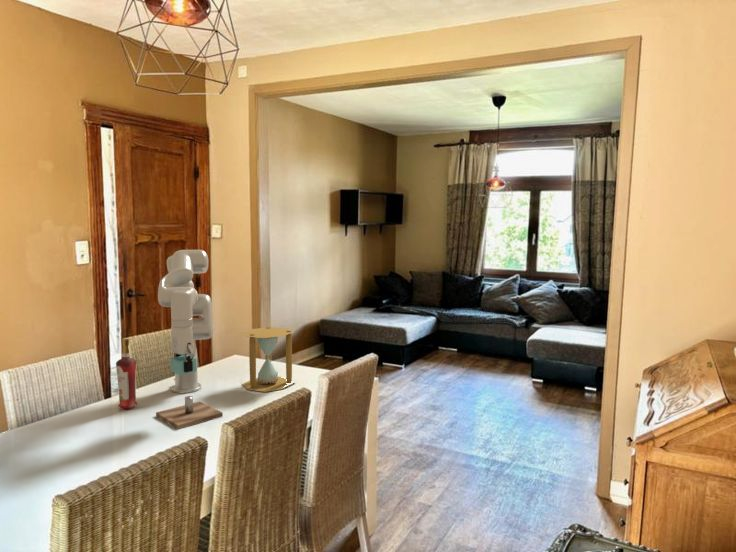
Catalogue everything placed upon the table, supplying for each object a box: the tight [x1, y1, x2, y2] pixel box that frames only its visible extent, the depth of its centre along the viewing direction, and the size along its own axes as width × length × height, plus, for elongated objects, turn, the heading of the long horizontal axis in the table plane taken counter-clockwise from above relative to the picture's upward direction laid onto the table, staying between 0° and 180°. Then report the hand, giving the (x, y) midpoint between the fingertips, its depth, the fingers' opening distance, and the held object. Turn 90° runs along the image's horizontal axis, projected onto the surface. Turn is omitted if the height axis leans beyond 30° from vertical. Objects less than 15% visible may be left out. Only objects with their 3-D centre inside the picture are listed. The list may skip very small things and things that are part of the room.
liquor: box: [115, 338, 138, 411], centre depth 211 cm, size 7×7×28 cm
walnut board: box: [155, 401, 224, 430], centre depth 203 cm, size 18×18×2 cm
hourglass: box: [241, 326, 295, 393], centre depth 242 cm, size 24×22×25 cm
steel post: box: [184, 395, 194, 414], centre depth 203 cm, size 3×3×6 cm
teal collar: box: [169, 355, 198, 375], centre depth 199 cm, size 7×7×5 cm
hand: (183, 369), depth 199 cm, fingers closed on teal collar, 7 cm apart
